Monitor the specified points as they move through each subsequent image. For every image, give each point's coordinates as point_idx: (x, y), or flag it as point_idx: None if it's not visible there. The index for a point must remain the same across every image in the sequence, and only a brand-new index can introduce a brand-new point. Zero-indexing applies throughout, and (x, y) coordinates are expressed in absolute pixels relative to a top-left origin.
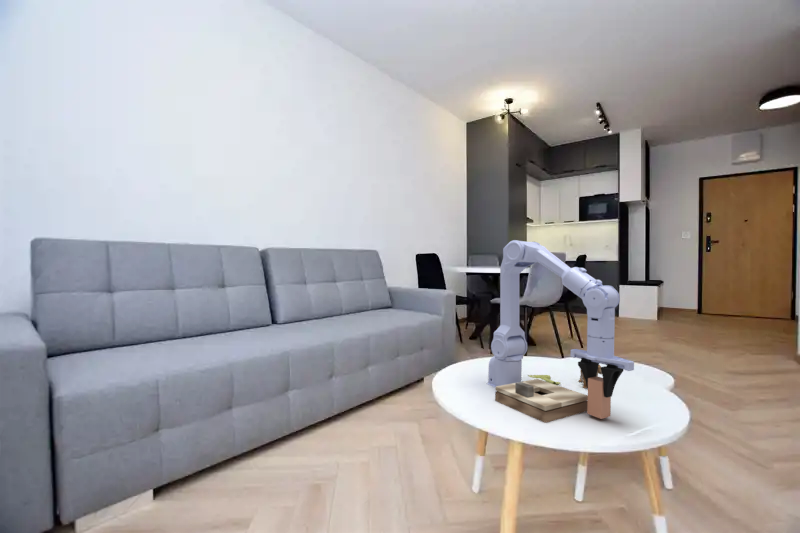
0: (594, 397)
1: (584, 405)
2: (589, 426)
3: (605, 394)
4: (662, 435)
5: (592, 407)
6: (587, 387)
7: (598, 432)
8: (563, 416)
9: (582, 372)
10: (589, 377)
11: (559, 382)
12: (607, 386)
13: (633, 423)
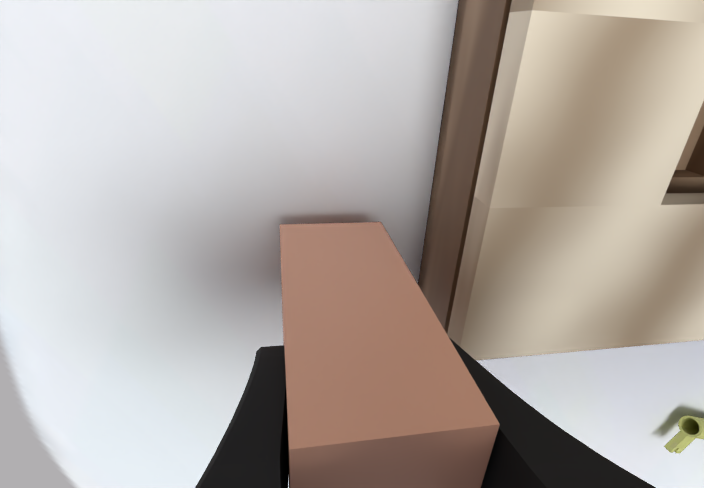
0: (354, 294)
1: (441, 284)
2: (299, 116)
3: (266, 360)
4: (39, 372)
5: (355, 247)
6: (461, 351)
7: (203, 75)
8: (464, 45)
9: (618, 468)
10: (498, 456)
11: (674, 450)
12: (226, 433)
13: (214, 374)
